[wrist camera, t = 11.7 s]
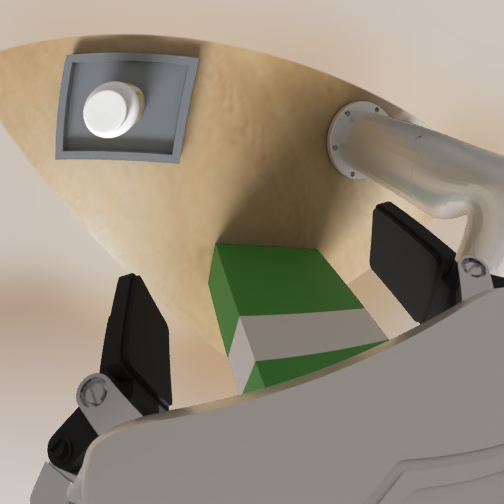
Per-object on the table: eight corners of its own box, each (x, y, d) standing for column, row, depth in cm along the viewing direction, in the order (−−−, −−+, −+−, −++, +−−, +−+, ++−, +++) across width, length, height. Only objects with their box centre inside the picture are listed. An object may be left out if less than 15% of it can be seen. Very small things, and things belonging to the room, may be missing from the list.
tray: (197, 60, 27) (199, 58, 25) (178, 159, 33) (179, 163, 31) (71, 56, 21) (66, 55, 20) (60, 155, 27) (55, 159, 26)
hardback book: (317, 249, 47) (401, 356, 28) (304, 284, 51) (371, 391, 31) (215, 243, 41) (265, 387, 22) (208, 283, 45) (246, 421, 25)
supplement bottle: (93, 104, 25) (63, 110, 17) (130, 74, 25) (113, 67, 17) (118, 137, 28) (98, 155, 20) (155, 108, 28) (148, 114, 20)
